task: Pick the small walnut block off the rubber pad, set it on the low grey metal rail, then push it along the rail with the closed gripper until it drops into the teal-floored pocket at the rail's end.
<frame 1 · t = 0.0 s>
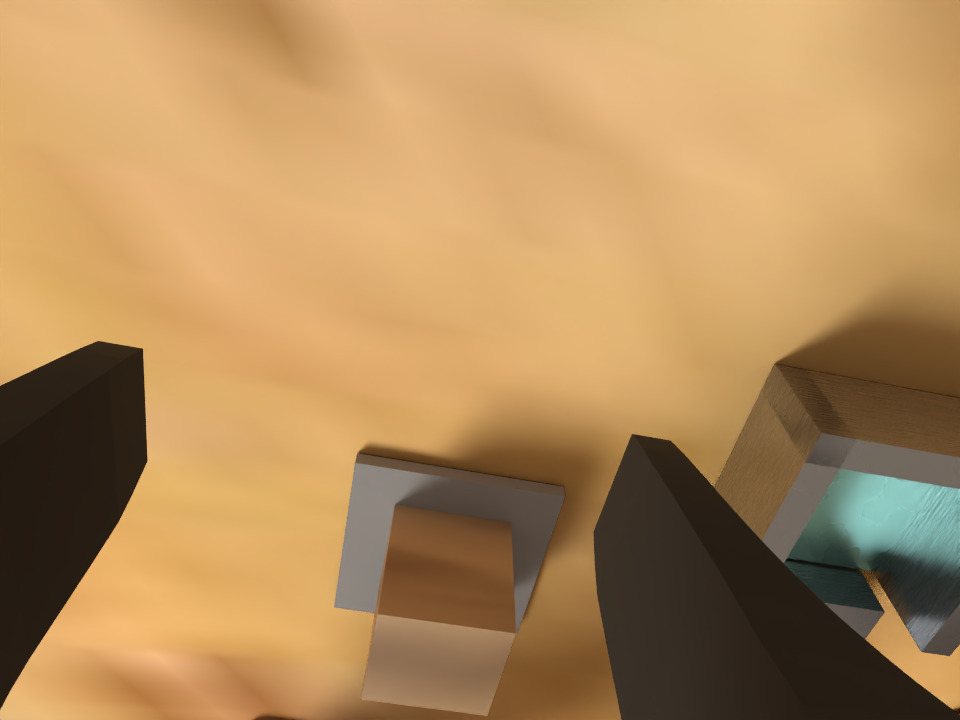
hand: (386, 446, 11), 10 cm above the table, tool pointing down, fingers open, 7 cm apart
rail: (771, 594, 27), on the table
walnut block: (443, 555, 25), resting on rubber pad
rubber pad: (443, 544, 26), on the table
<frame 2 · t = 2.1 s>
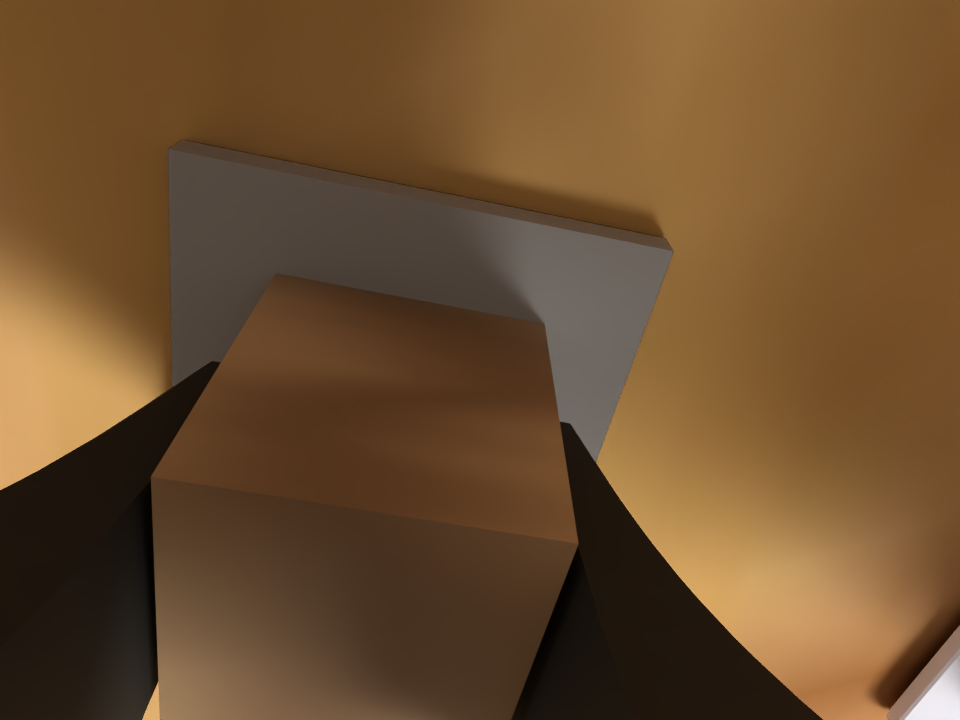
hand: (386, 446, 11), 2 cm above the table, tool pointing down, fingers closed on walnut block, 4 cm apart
walnut block: (393, 408, 12), resting on rubber pad, touching gripper
rubber pad: (396, 391, 12), on the table
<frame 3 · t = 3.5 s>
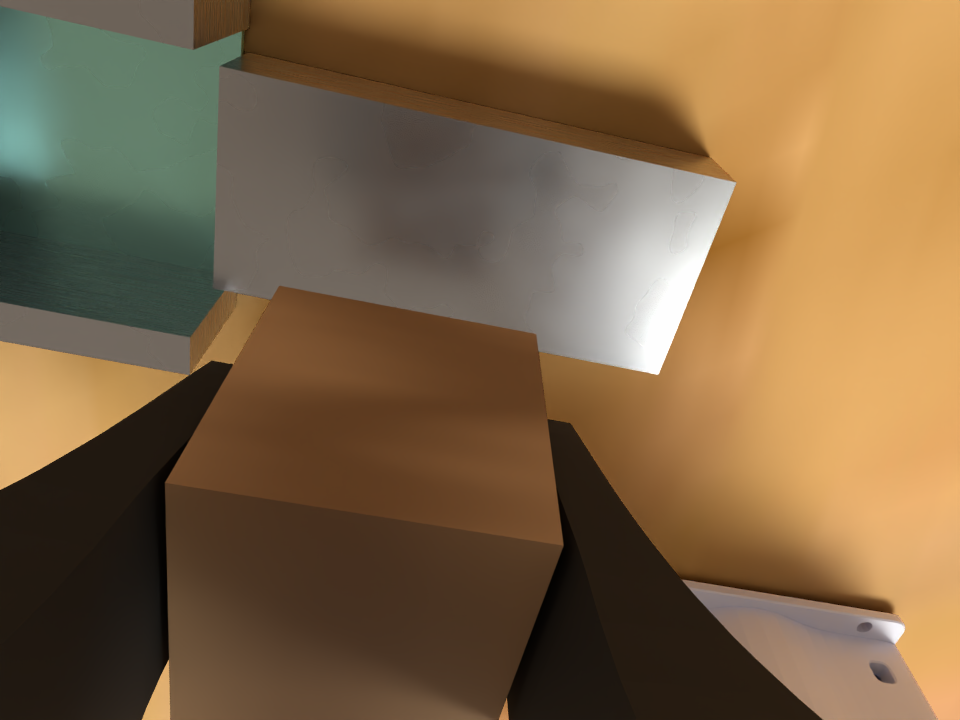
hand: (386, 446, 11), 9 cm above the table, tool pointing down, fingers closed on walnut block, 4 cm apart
rail: (325, 178, 17), on the table
walnut block: (391, 414, 12), point 7 cm above the table, touching gripper
when the fingers open (4 cm above the table, at t = 4.9 s): walnut block stays where it is, resting on rail.
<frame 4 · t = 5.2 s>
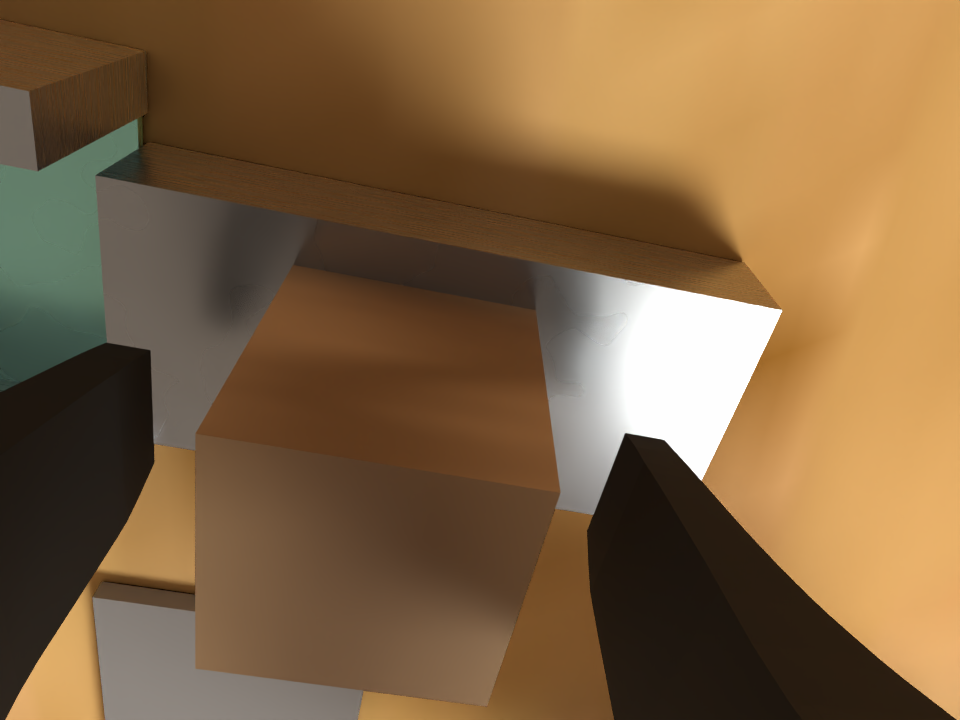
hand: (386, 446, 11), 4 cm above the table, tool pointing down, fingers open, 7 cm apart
rail: (258, 291, 14), on the table
walnut block: (398, 388, 13), point 2 cm above the table, touching rail
rubber pad: (237, 684, 20), on the table
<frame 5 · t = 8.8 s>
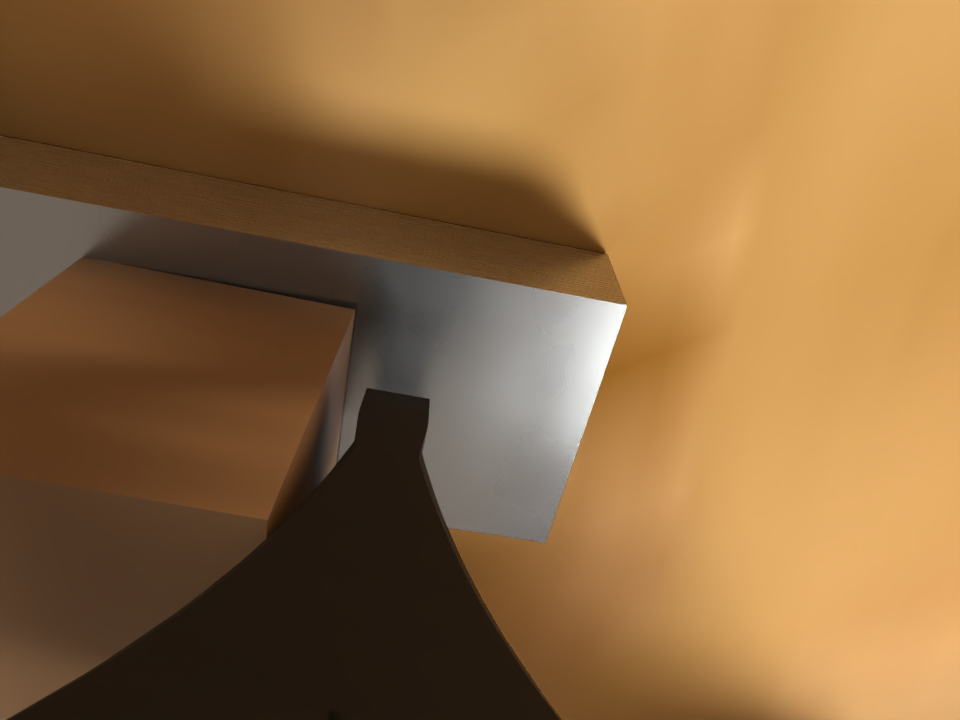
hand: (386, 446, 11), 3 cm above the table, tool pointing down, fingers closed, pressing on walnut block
rail: (84, 287, 13), on the table
walnut block: (218, 394, 12), point 2 cm above the table, touching gripper, rail
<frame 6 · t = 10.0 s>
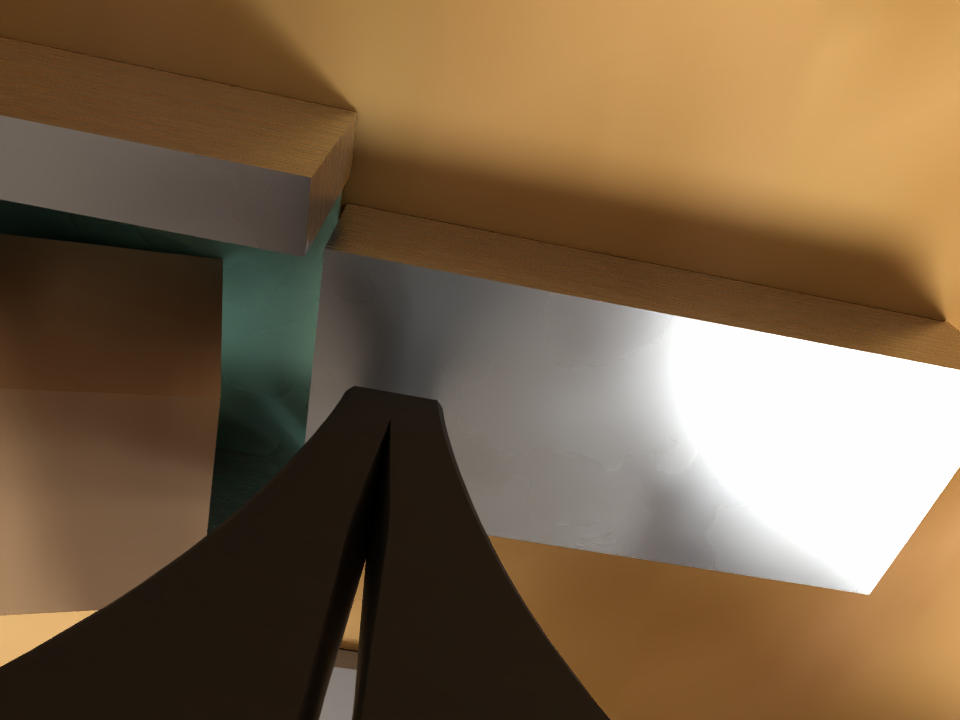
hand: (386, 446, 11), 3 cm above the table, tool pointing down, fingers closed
rail: (439, 351, 13), on the table
walnut block: (212, 423, 12), point 2 cm above the table, tilted 73°, touching rail
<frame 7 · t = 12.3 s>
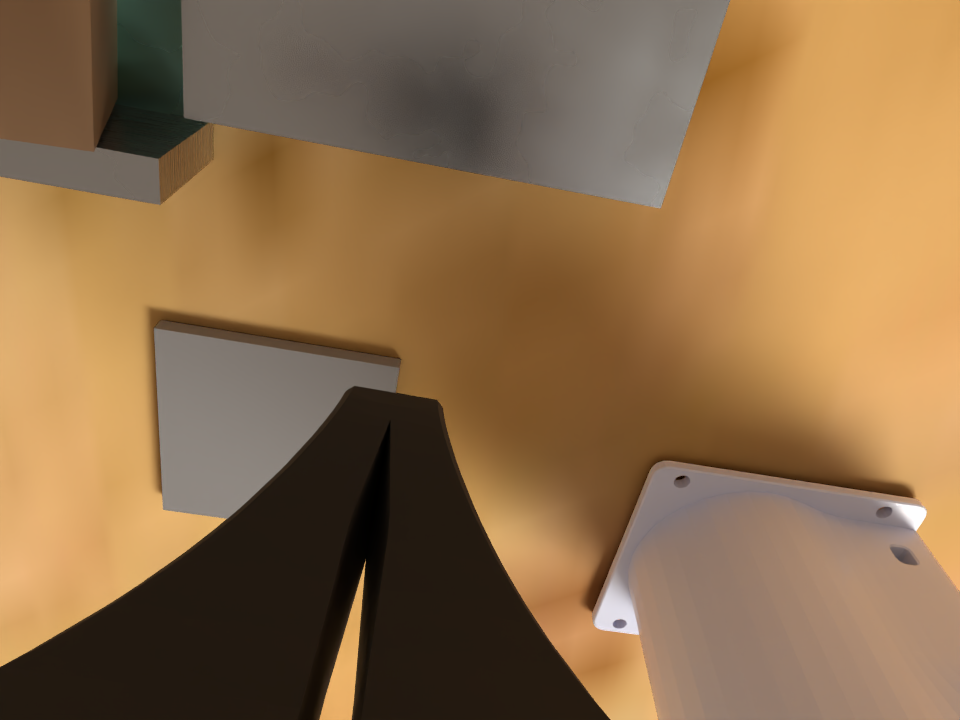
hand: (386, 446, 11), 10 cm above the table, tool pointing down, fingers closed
rail: (301, 4, 16), on the table
walnut block: (105, 25, 15), point 2 cm above the table, tilted 73°, touching rail
rubber pad: (277, 433, 23), on the table
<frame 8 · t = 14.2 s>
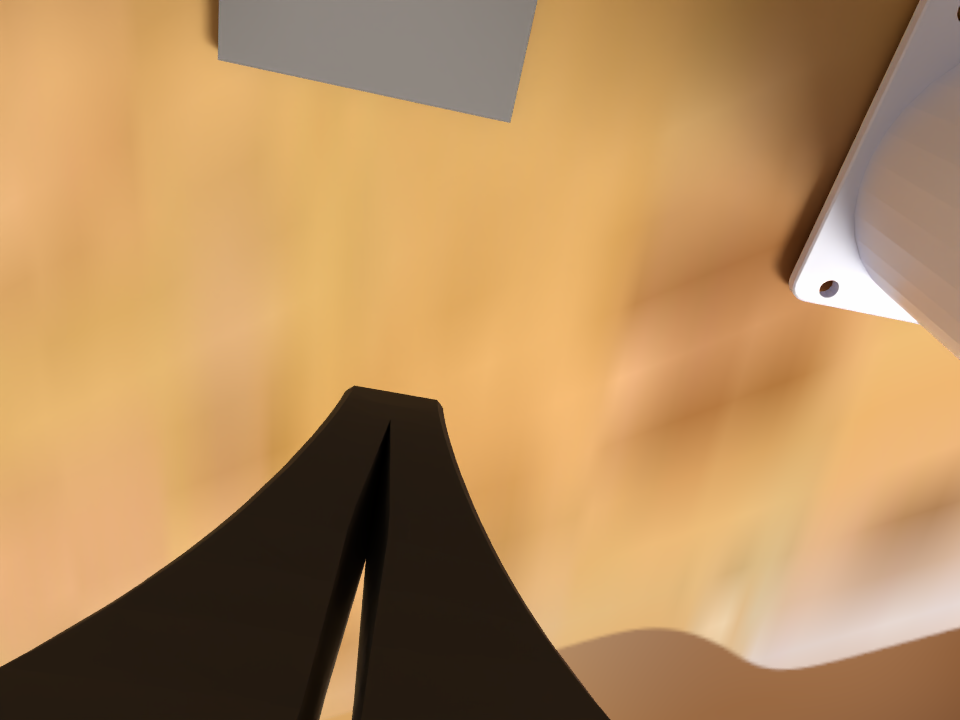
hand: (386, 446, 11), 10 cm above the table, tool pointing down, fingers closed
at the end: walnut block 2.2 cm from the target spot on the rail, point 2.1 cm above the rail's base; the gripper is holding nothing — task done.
